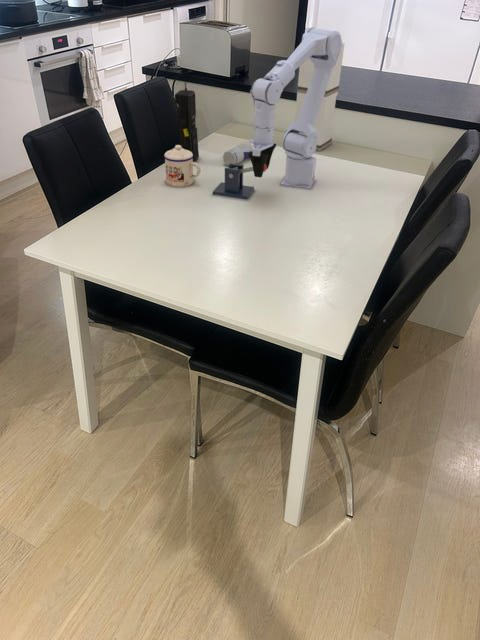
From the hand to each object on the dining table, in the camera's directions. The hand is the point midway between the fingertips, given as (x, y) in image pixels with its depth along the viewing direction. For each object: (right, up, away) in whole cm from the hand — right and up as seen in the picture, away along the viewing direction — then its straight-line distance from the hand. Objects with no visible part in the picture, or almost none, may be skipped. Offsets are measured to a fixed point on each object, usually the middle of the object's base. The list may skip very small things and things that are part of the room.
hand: (261, 172), depth 152 cm
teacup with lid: (-25, 0, +12) cm, 27 cm away
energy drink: (-10, +11, +23) cm, 27 cm away
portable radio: (-25, +12, +28) cm, 39 cm away
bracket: (-8, -4, +7) cm, 12 cm away
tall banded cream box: (+22, +24, +46) cm, 56 cm away
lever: (-4, 0, +2) cm, 4 cm away
